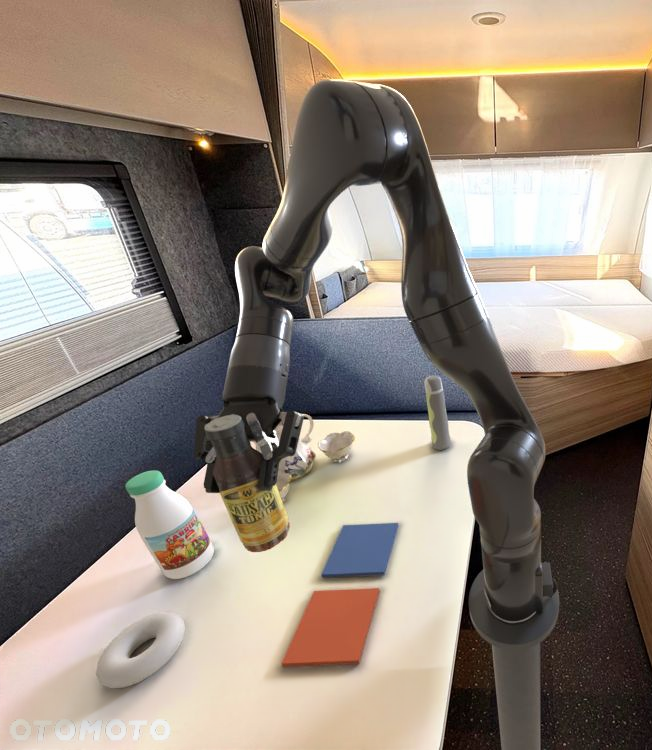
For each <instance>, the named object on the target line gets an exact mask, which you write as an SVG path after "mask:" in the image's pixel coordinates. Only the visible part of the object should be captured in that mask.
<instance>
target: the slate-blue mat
mask: <svg viewBox="0 0 652 750" xmlns="http://www.w3.org/2000/svg"><path fill="white" fill-rule="evenodd" d="M398 528H399V523H398V522H387V523H364V524H344V525H342V526H341V530H340V531H339V534H338V536H337V538H336V541H335V543H334V545H333V547H332V549H331V551H330V554H329V556H328V559H327V561H326V563H325V565H324V567H323V570H322V571H321V574H320V575H321V578H340V577H341V578H343V577H344V578H345V577H346V578H347V577H367V576H368V577H369V576H370V577H371V576H385V574H386V570H387V568H388V563H389V560H390V557H391V553H392V549H393V546H394V543H395V539H396V536H397V532H398Z"/></svg>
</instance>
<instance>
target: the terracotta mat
mask: <svg viewBox="0 0 652 750" xmlns="http://www.w3.org/2000/svg"><path fill="white" fill-rule="evenodd" d="M380 593H381V590H380V588H379V587H375V588H373V587H372V588H350V589H349V588H348V589H330V590H329V589H328V590H327V589H326V590H313V592H312V594H311V596H310V599H309V601H308V603H307V604H306V608H305V609H304V611H303V614H302V617H301V619H300V621H299V623H298V625H297V628H296V630H295V632H294V634H293V636H292V639H291V641H290V643H289V645H288V647H287V650H286V652H285V655H284V657H283V659H282V661H281V666H282V667H285V668H287V667H307V666H308V667H309V666H332V665H356V664H357V665H358V664H360V662H361V659H362V656H363V652H364V648H365V645H366V641H367V637H368V634H369V631H370V630H369V629H370V628H371V624H372V621H373V616H374V613H375V610H376V606H377V602H378V599H379V595H380Z"/></svg>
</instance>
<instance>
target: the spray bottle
mask: <svg viewBox="0 0 652 750" xmlns="http://www.w3.org/2000/svg"><path fill="white" fill-rule="evenodd" d="M423 384H424V390H425V400H426V406H427V413H428V422H429V423H428V424H429V429H430V434H431V437H430V438H431V445H432V447H433V449H435V450H436V451H437V450H438V451H442V450H446V449H448V448H449V447H450V446H451V444H452V440H451V436H450V429H449V428H450V427H449V420H448V415H447V409H446V399H445V392H444V388H443V383H442V378H441V377H440V376H438V375H429V376H427V377H426V378H425V379H424V383H423Z"/></svg>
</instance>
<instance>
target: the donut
mask: <svg viewBox="0 0 652 750" xmlns="http://www.w3.org/2000/svg"><path fill="white" fill-rule="evenodd" d="M185 627H186V625H185V620H184V619H183V618H182V617H181V616H180V615H179V614H177V613H174V612H170V611H162V612H156V613H152V614H150V615H146V616H145V617H143V618H141V619H140V618H139V620H137V621H135V622H133V623H132V624H130V625H129V626H127V627H126V628H124V629H123V630H122V631H121V632H120V633H118V634H117V635H116V636H115V637H114V638H113V639H112V640H111V642H109V643H108V645H107V646H106V647H105V649H104V650H103V651H102V653H101V655H100V656H99V659H98V661H97V664H96V670H95V671H96V672H95V675H96V677H97V680H98V682H99V684H100V685H101V686H103V687H107V688H108V689H121V688H122V689H123V688H127V687H130V686H133V685H135V684H139V683H140V682H142V681H144V680H145V679H147V678H149V677H150V676H152V675H154V674H155V673H156V672H158V671H159V670H160V669H161V668H162V667H163V666H165V664H167V663H168V661H169V660H170V659H171V658H172V657H173V656H174V655H175V653H177V650H178V649H179V647H180V646H181V644H182V643H183V639H184V636H185V633H186V629H185ZM151 639H154V641H153V642H152V644H151V645H150V646H149V647H148V648H147V649H146V650H144V651H143V652H142V653H140V654H138V655H136V656H133V657H131V656H132V654H133V653H134V651H135V650H136V649H138V648H139V647H140V646H141V645H142V644H144V643H145V642H147V641H149V640H151Z"/></svg>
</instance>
